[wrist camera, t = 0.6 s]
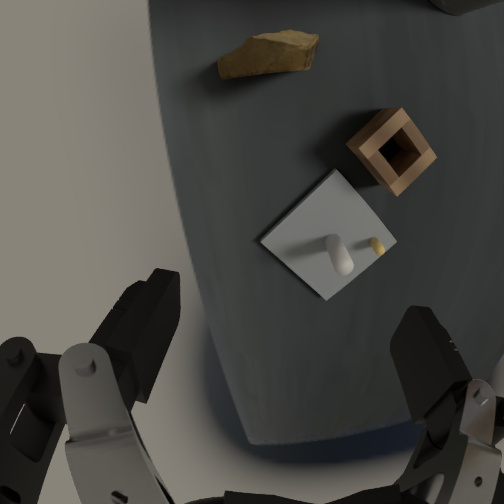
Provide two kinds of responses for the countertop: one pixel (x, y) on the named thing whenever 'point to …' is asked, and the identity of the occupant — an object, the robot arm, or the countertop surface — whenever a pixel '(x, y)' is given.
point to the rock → (270, 54)
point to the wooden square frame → (404, 162)
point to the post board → (317, 225)
